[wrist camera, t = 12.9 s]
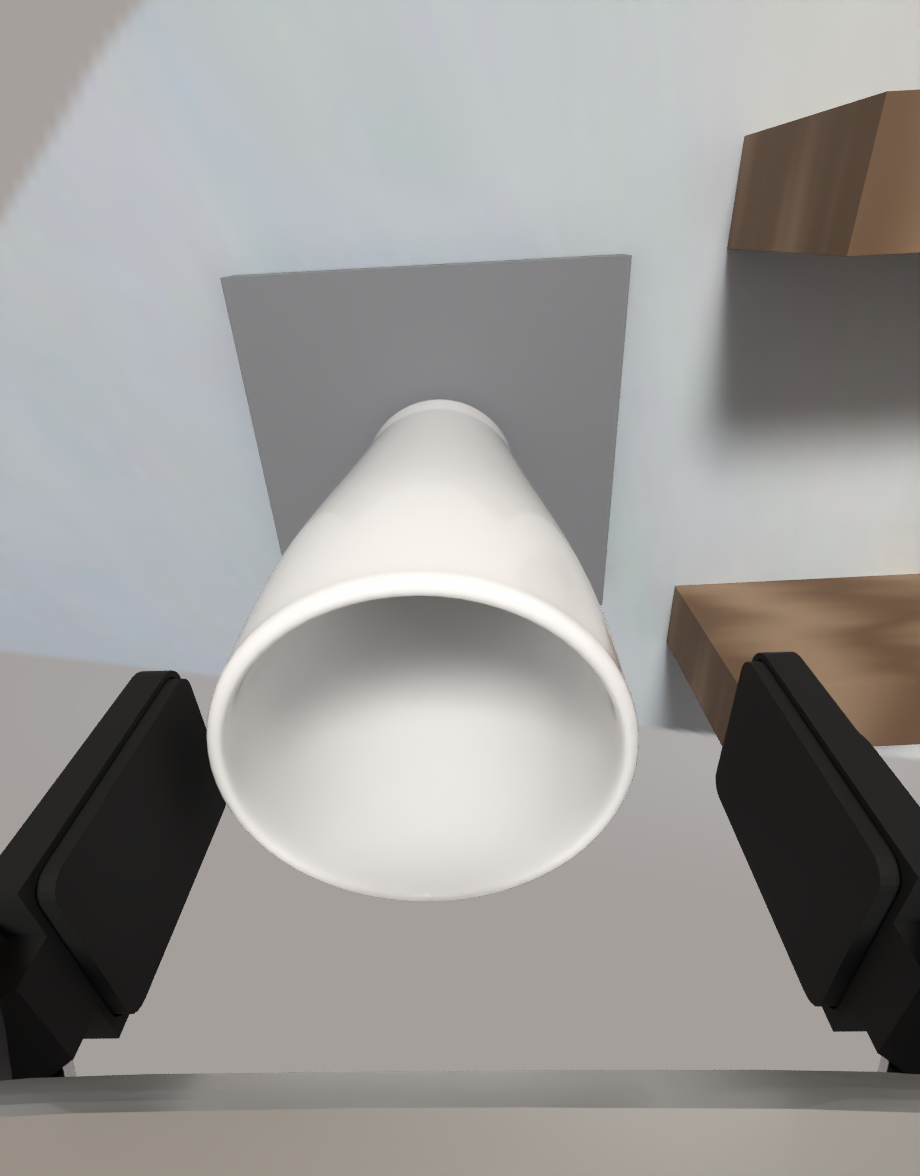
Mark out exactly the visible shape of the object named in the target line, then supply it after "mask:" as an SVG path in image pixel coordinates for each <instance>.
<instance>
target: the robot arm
mask: <svg viewBox="0 0 920 1176" xmlns="http://www.w3.org/2000/svg"><path fill="white" fill-rule="evenodd" d="M206 733H207V730H206V727H205V724H204V721H203V719H202V716H201V713H200V710H199V707H198V704H197V702H196V699H195V696H194V693H193V690H192V688H191V685H190V683H189V681H188V680H186V679H181V678H180V676H179V674H178V673H177V672H175V671H143V672H139V673H136V674H135V675H134V676H133V677H132V679H131V680H130V681H129V683H128V684H127V685H126V687H125V688H124V689H123V691H122V692H121V694H120V695H119V696H118V697H117V699H116V700H115V702H114V703H113V704H112V706H111V707H110V708H109V710H108V711H107V712H106V714H105V715H104V716H103V718H102V719H101V721H100V722H99V723H98V724H97V726H96V727H95V728H94V730H93V731H92V733H91V734H90V735H89V737H88V738H87V739H86V741H85V742H84V743H83V745H82V746H81V747H80V749H79V750H78V751H77V753H76V754H75V755H74V757H73V758H72V759H71V761H70V762H69V764H68V765H67V766H66V768H65V769H64V770H63V772H62V773H61V774H60V776H59V777H58V778H57V780H56V781H55V782H54V784H53V785H52V786H51V788H50V789H49V790H48V792H47V793H46V794H45V796H44V797H43V799H42V800H41V802H40V803H39V804H38V805H37V807H36V808H35V809H34V811H33V812H32V814H31V815H30V816H29V818H28V819H27V820H26V822H25V823H24V824H23V826H22V827H21V828H20V829H19V831H18V832H17V834H16V835H15V836H14V838H13V839H12V840H11V842H10V843H9V844H8V846H7V847H6V849H5V850H4V851H3V852H2V854H1V855H0V1176H920V807H919V805H918V804H917V803H916V802H915V800H914V799H913V798H912V796H911V795H910V794H909V792H908V791H907V790H906V789H905V787H904V786H903V785H902V783H901V782H900V781H899V780H898V778H897V777H896V776H895V774H894V773H893V772H892V771H891V769H890V768H889V767H888V765H887V764H886V763H885V762H884V760H883V759H882V758H881V756H880V755H879V754H878V752H877V751H876V750H875V749H874V747H873V746H872V745H871V743H870V742H869V741H868V740H867V739H866V738H865V737H864V736H863V735H861V734H860V733H859V732H858V731H857V729H856V728H855V727H854V725H853V724H852V723H851V722H850V720H849V719H848V718H847V716H846V715H845V714H844V712H843V711H842V710H841V709H840V707H839V706H838V705H837V703H836V702H835V701H834V699H833V698H832V697H831V696H830V694H829V693H828V692H827V690H826V689H825V688H824V686H823V685H822V684H821V683H820V681H819V680H818V679H817V677H816V676H815V675H814V673H813V672H812V671H811V670H810V668H809V667H808V666H807V664H806V663H805V662H804V660H803V659H802V658H801V657H800V656H799V655H798V654H797V653H795V652H762V653H757V654H755V656H754V657H753V659H752V662H745V663H744V664H743V666H742V668H741V672H740V677H739V681H738V685H737V689H736V693H735V697H734V701H733V706H732V710H731V714H730V718H729V722H728V726H727V730H726V735H725V739H724V743H723V747H722V751H721V756H720V760H719V764H718V768H717V773H716V788H717V792H718V795H719V798H720V800H721V803H722V805H723V807H724V809H725V812H726V814H727V816H728V818H729V821H730V823H731V825H732V828H733V830H734V832H735V834H736V837H737V839H738V841H739V844H740V846H741V848H742V850H743V853H744V855H745V857H746V860H747V862H748V864H749V866H750V869H751V871H752V873H753V875H754V878H755V880H756V882H757V885H758V887H759V889H760V892H761V894H762V896H763V898H764V901H765V903H766V905H767V908H768V910H769V912H770V914H771V916H772V919H773V921H774V924H775V926H776V928H777V930H778V933H779V935H780V937H781V939H782V941H783V944H784V946H785V948H786V951H787V953H788V955H789V958H790V960H791V962H792V964H793V966H794V969H795V971H796V974H797V976H798V978H799V980H800V983H801V985H802V987H803V990H804V991H805V993H806V995H807V997H808V999H809V1000H810V1002H811V1003H812V1004H813V1005H815V1006H822V1008H823V1010H824V1012H825V1014H826V1016H827V1019H828V1021H829V1023H830V1025H831V1028H832V1030H833V1031H835V1032H836V1031H867V1033H868V1035H869V1037H870V1039H871V1040H872V1043H873V1045H874V1047H875V1049H876V1051H877V1053H878V1054H880V1055H881V1059H880V1064H879V1068H878V1072H851V1071H849V1072H847V1071H846V1072H845V1071H790V1070H540V1071H538V1070H536V1071H535V1070H532V1071H531V1070H529V1071H395V1072H394V1071H393V1072H392V1071H391V1072H298V1073H297V1072H294V1073H293V1072H292V1073H214V1074H143V1075H112V1076H82V1077H76V1072H75V1068H74V1063H73V1059H74V1056H75V1054H76V1052H77V1050H78V1048H79V1046H80V1044H81V1042H82V1040H83V1039H91V1038H92V1039H95V1038H96V1039H97V1038H119V1037H120V1034H121V1032H122V1030H123V1027H124V1025H125V1022H126V1021H127V1018H128V1016H129V1014H134V1013H135V1012H137V1011H138V1010H139V1008H140V1007H141V1006H142V1004H143V1002H144V1000H145V998H146V995H147V993H148V991H149V988H150V986H151V983H152V981H153V979H154V976H155V974H156V971H157V969H158V967H159V964H160V962H161V960H162V957H163V955H164V952H165V950H166V947H167V945H168V943H169V940H170V938H171V936H172V933H173V931H174V928H175V926H176V924H177V921H178V919H179V916H180V914H181V912H182V909H183V907H184V904H185V902H186V900H187V897H188V895H189V892H190V890H191V888H192V885H193V883H194V880H195V878H196V876H197V873H198V871H199V869H200V866H201V864H202V861H203V859H204V857H205V854H206V852H207V849H208V847H209V845H210V842H211V840H212V837H213V835H214V833H215V830H216V828H217V825H218V823H219V821H220V818H221V816H222V813H223V811H224V808H225V805H226V802H225V801H224V799H223V797H222V795H221V793H220V791H219V789H218V787H217V784H216V782H215V779H214V776H213V773H212V770H211V766H210V761H209V756H208V751H207V736H206Z"/></svg>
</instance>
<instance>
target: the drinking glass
mask: <svg viewBox="0 0 920 1176" xmlns="http://www.w3.org/2000/svg"><path fill="white" fill-rule="evenodd" d="M206 736H207V751H208V756H209V761H210V766H211V770H212V773H213V776H214V779H215V782H216V784H217V787H218V789H219V791H220V793H221V795H222V797H223V799H224V801H225V802H226V804H227V805H228V807H229V809H230V810H231V812H232V813H233V814H234V816H235V817H236V819H237V820H238V821H239V822H240V824H241V825H242V826H243V827H244V828H245V829H246V830H247V831H248V833H249V834H251V836H252V837H253V838H254V839H256V840H257V841H258V842H259V843H260V844H261V845H262V846H263V847H264V848H266V849H267V850H268V851H269V852H271V853H272V854H274V855H275V856H276V857H278V858H279V859H280V860H282V861H284V862H285V863H287V864H288V865H290V866H292V867H293V868H295V869H297V870H299V871H301V872H302V873H305V874H306V875H308V876H310V877H312V878H315V879H317V880H319V881H322V882H324V883H326V884H329V885H332V886H335V887H338V888H341V889H344V890H348V891H351V892H354V893H358V894H363V895H367V896H372V897H377V898H383V899H390V900H399V901H411V902H440V901H454V900H462V899H470V898H475V897H481V896H486V895H490V894H494V893H499V892H502V891H505V890H508V889H512V888H515V887H517V886H520V885H523V884H525V883H528V882H530V881H533V880H535V879H537V878H539V877H541V876H543V875H546V874H548V873H549V872H551V871H553V870H554V869H556V868H558V867H560V866H562V865H563V864H564V863H566V862H567V861H569V860H570V859H572V858H573V857H575V856H576V855H577V854H579V853H580V852H581V851H582V850H583V849H585V848H586V847H587V846H588V845H589V844H590V843H591V842H592V841H593V840H594V839H596V838H597V837H598V836H599V835H600V833H601V832H602V831H603V830H604V829H605V828H606V826H607V825H608V824H609V823H610V821H611V820H612V819H613V817H614V816H615V814H616V813H617V811H618V810H619V808H620V806H621V805H622V803H623V801H624V799H625V797H626V795H627V793H628V790H629V788H630V785H631V782H632V780H633V777H634V773H635V769H636V765H637V758H638V749H639V729H638V722H637V715H636V710H635V706H634V703H633V699H632V696H631V693H630V691H629V688H628V685H627V682H626V679H625V676H624V673H623V670H622V666H621V663H620V660H619V657H618V654H617V650H616V647H615V644H614V641H613V639H612V636H611V633H610V630H609V627H608V625H607V622H606V619H605V617H604V614H603V612H602V609H601V607H600V604H599V602H598V600H597V597H596V595H595V592H594V590H593V588H592V586H591V583H590V581H589V579H588V577H587V574H586V572H585V570H584V568H583V566H582V564H581V562H580V560H579V559H578V557H577V555H576V553H575V552H574V550H573V548H572V546H571V544H570V543H569V541H568V539H567V537H566V536H565V534H564V532H563V531H562V529H561V528H560V526H559V525H558V523H557V521H556V520H555V518H554V517H553V515H552V514H551V512H550V511H549V509H548V508H547V506H546V505H545V504H544V502H543V501H542V499H541V498H540V496H539V495H538V493H537V492H536V490H535V489H534V487H533V486H532V484H531V483H530V481H529V479H528V478H527V476H526V475H525V473H524V472H523V470H522V469H521V467H520V466H519V464H518V463H517V461H516V459H515V458H514V456H513V453H512V450H511V448H510V445H509V443H508V441H507V439H506V437H505V436H504V434H503V433H502V431H501V430H500V428H499V427H498V426H497V425H496V424H495V423H494V422H493V421H492V420H491V419H490V418H489V417H488V416H487V415H485V414H484V413H483V412H481V411H479V410H478V409H476V408H474V407H472V406H470V405H467V404H465V403H462V402H458V401H453V400H446V399H434V400H426V401H422V402H418V403H415V404H412V405H410V406H408V407H406V408H404V409H402V410H400V411H399V412H397V413H396V414H394V415H393V416H392V417H391V418H390V419H389V420H387V421H386V422H385V424H384V425H383V426H382V427H381V428H380V430H379V431H378V433H377V434H376V436H375V437H374V439H373V441H372V443H371V445H370V447H369V448H368V450H367V451H366V452H365V453H364V455H363V456H362V457H361V458H360V459H359V461H358V462H357V463H356V464H355V465H354V466H353V468H352V469H351V470H350V471H349V472H348V474H347V475H346V476H345V477H344V478H343V479H342V480H341V482H340V483H339V484H338V485H337V486H336V487H335V488H334V490H333V491H332V492H331V493H330V494H329V495H328V497H327V498H326V499H325V500H324V501H323V502H322V504H321V505H320V506H319V507H318V508H317V510H316V511H315V512H314V513H313V514H312V516H311V517H310V518H309V519H308V520H307V522H306V523H305V524H304V525H303V527H302V528H301V529H300V531H299V532H298V533H297V535H296V536H295V538H294V539H293V541H292V542H291V544H290V545H289V547H288V548H287V550H286V551H285V553H284V554H283V556H282V557H281V559H280V560H279V562H278V563H277V565H276V567H275V568H274V570H273V572H272V573H271V575H270V577H269V578H268V580H267V582H266V584H265V585H264V587H263V589H262V591H261V593H260V595H259V597H258V599H257V601H256V603H255V604H254V606H253V608H252V610H251V612H250V614H249V616H248V618H247V620H246V622H245V624H244V627H243V629H242V631H241V633H240V635H239V637H238V639H237V641H236V644H235V646H234V648H233V650H232V652H231V655H230V657H229V659H228V661H227V664H226V666H225V668H224V670H223V672H222V674H221V676H220V678H219V680H218V682H217V684H216V687H215V690H214V693H213V696H212V699H211V703H210V708H209V713H208V718H207V733H206Z"/></svg>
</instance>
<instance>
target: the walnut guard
mask: <svg viewBox="0 0 920 1176" xmlns="http://www.w3.org/2000/svg"><path fill="white" fill-rule="evenodd" d="M728 248H730V249H745V250H760V251H774V252H789V253H804V254H819V255H833V256H863V255H882V254H900V253H918V252H920V90H905V91H888V92H884V93H881V94H878V95H874V96H871V97H868V98H865V99H862V100H858V101H855V102H852V103H849V104H846V105H843V106H839V107H836V108H833V109H830V110H827V111H823V112H820V113H817V114H814V115H811V116H808V117H804V118H801V119H798V120H795V121H792V122H788V123H785V124H782V125H779V126H776V127H773V128H769V129H766V130H763V131H760V132H757V133H753V134H750V135H747V136H745V138H744V144H743V150H742V157H741V163H740V170H739V176H738V183H737V189H736V196H735V202H734V209H733V215H732V222H731V228H730V235H729V241H728ZM667 643H668V645H669V647H670V649H671V651H672V652H673V654H674V656H675V658H676V660H677V662H678V664H679V666H680V668H681V669H682V671H683V673H684V675H685V677H686V679H687V681H688V683H689V684H690V686H691V688H692V690H693V692H694V694H695V696H696V698H697V700H698V701H699V703H700V705H701V707H702V709H703V711H704V713H705V715H706V717H707V718H708V720H709V722H710V724H711V726H712V728H713V730H714V732H715V733H716V735H717V737H718V739H719V741H720V743H721V745H722V746H723V743H724V739H725V735H726V730H727V726H728V722H729V718H730V714H731V710H732V706H733V701H734V697H735V693H736V689H737V685H738V681H739V677H740V672H741V668H742V666H743V664H744V663H745V662H752V659H753V657H754V656H755V654H757V653H762V652H795V653H797V654H798V655H799V656H800V657H801V658H802V659H803V660H804V662H805V663H806V664H807V666H808V667H809V668H810V670H811V671H812V672H813V673H814V675H815V676H816V677H817V679H818V680H819V681H820V683H821V684H822V685H823V686H824V688H825V689H826V690H827V692H828V693H829V694H830V696H831V697H832V698H833V699H834V701H835V702H836V703H837V705H838V706H839V707H840V709H841V710H842V711H843V712H844V714H845V715H846V716H847V718H848V719H849V720H850V722H851V723H852V724H853V725H854V727H855V728H856V729H857V731H858V732H859V733H860V734H861V735H863V736H864V737H865V738H866V739H867V740H868V741H869V742H870V743H871V745H872V746H889V745H910V744H920V574H907V575H887V576H867V577H847V578H826V579H806V580H786V581H766V582H746V583H725V584H705V585H685V586H675V591H674V597H673V604H672V610H671V617H670V623H669V630H668V636H667Z"/></svg>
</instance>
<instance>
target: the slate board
mask: <svg viewBox="0 0 920 1176" xmlns="http://www.w3.org/2000/svg"><path fill="white" fill-rule="evenodd" d="M631 258H632V255H625V254H616V255H598V256H579V257H561V258H543V259H525V260H507V261H488V262H470V263H452V264H434V265H416V266H397V267H379V268H361V269H343V270H325V271H306V272H288V273H270V274H252V275H234V276H228V277H223V278H220V279H221V284H222V288H223V293H224V297H225V302H226V306H227V311H228V315H229V320H230V324H231V329H232V333H233V338H234V342H235V347H236V351H237V356H238V360H239V365H240V369H241V374H242V378H243V383H244V387H245V392H246V396H247V401H248V405H249V410H250V414H251V419H252V423H253V428H254V432H255V437H256V441H257V446H258V450H259V455H260V459H261V464H262V468H263V473H264V477H265V482H266V486H267V491H268V495H269V500H270V504H271V509H272V513H273V518H274V522H275V527H276V531H277V536H278V540H279V545H280V549H281V554H282V556H283V554H284V553H285V551H286V550H287V548H288V547H289V545H290V544H291V542H292V541H293V539H294V538H295V536H296V535H297V533H298V532H299V531H300V529H301V528H302V527H303V525H304V524H305V523H306V522H307V520H308V519H309V518H310V517H311V516H312V514H313V513H314V512H315V511H316V510H317V508H318V507H319V506H320V505H321V504H322V502H323V501H324V500H325V499H326V498H327V497H328V495H329V494H330V493H331V492H332V491H333V490H334V488H335V487H336V486H337V485H338V484H339V483H340V482H341V480H342V479H343V478H344V477H345V476H346V475H347V474H348V472H349V471H350V470H351V469H352V468H353V466H354V465H355V464H356V463H357V462H358V461H359V459H360V458H361V457H362V456H363V455H364V453H365V452H366V451H367V450H368V448H369V447H370V445H371V443H372V441H373V439H374V437H375V436H376V434H377V433H378V431H379V430H380V428H381V427H382V426H383V425H384V424H385V422H386V421H387V420H389V419H390V418H391V417H392V416H393V415H394V414H396V413H397V412H399V411H400V410H402V409H404V408H406V407H408V406H410V405H412V404H415V403H418V402H422V401H426V400H434V399H446V400H453V401H458V402H462V403H465V404H467V405H470V406H472V407H474V408H476V409H478V410H479V411H481V412H483V413H484V414H485V415H487V416H488V417H489V418H490V419H491V420H492V421H493V422H494V423H495V424H496V425H497V426H498V427H499V428H500V430H501V431H502V433H503V434H504V436H505V437H506V439H507V441H508V443H509V445H510V448H511V450H512V453H513V456H514V458H515V459H516V461H517V463H518V464H519V466H520V467H521V469H522V470H523V472H524V473H525V475H526V476H527V478H528V479H529V481H530V483H531V484H532V486H533V487H534V489H535V490H536V492H537V493H538V495H539V496H540V498H541V499H542V501H543V502H544V504H545V505H546V506H547V508H548V509H549V511H550V512H551V514H552V515H553V517H554V518H555V520H556V521H557V523H558V525H559V526H560V528H561V529H562V531H563V532H564V534H565V536H566V537H567V539H568V541H569V543H570V544H571V546H572V548H573V550H574V552H575V553H576V555H577V557H578V559H579V560H580V562H581V564H582V566H583V568H584V570H585V572H586V574H587V577H588V579H589V581H590V583H591V586H592V588H593V590H594V592H595V595H596V597H597V600H598V602H599V604H600V605H602V600H603V588H604V576H605V564H606V553H607V541H608V529H609V517H610V505H611V494H612V482H613V470H614V458H615V446H616V435H617V423H618V411H619V399H620V387H621V376H622V364H623V352H624V340H625V328H626V317H627V305H628V293H629V281H630V269H631Z"/></svg>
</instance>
